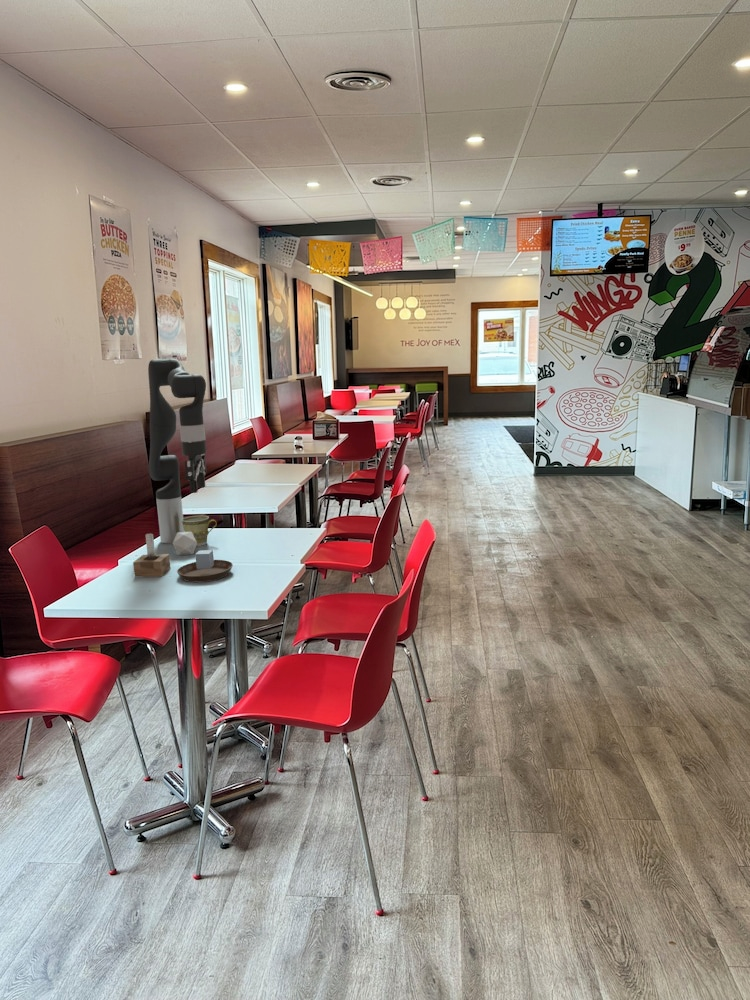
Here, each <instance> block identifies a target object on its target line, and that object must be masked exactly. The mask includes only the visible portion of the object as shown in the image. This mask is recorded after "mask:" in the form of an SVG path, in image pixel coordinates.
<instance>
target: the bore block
mask: <svg viewBox="0 0 750 1000" xmlns="http://www.w3.org/2000/svg"><path fill="white" fill-rule="evenodd" d="M155 558H156V560H148V555H147V554H142V555H141V556H139V557H138V558H137V559H136V560H134V561H133V562H132V564H133V565H132V568H133V574H134V578H150V577H151V578H153V577H163V576H164V575H166V573H168V571H170V569H171V568H172V567H171V560H170V554H169V553H161V554H159V553H155Z"/></svg>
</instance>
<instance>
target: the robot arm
mask: <svg viewBox="0 0 750 1000" xmlns="http://www.w3.org/2000/svg"><path fill="white" fill-rule="evenodd" d="M147 367H148V368H147V369H148V371H147V372H148V373H147V374H148V375H147V376H148V386H149V398H150V399H149V401H150V402H149V439H150V441H149V443H150V444H149V445H150V447H149V456H148V457H149V458H148V471H149V477H150V479H152V480H153V481H154V482H155V481H168V480H169V482H168V483H167V484H166V485H165V486H163V487H161V488H158V489H157V490H156V491H155V499H156V507H157V508H156V509H157V517H158V526H159V527H158V528H159V537H160V543H161V544H173V541H174V539H175V536H176V534H177V533H179V532H185V531H184V528H183V524H182V519H183V518H184V512H183V510H184V509H183V502H182V501H183V500H182V493H181V492H182V491H181V489H182V488H181V481H180V480H181V479H180V478H181V477H180V463H179V459H178V456H177V455H176V454H167V455H166V454H165V455H162V454H163V453H162V452H163V450H164V449H165V448H166V446H167V445H168V444H169V442H170V441H171V440H172V438H174V436H175V433H176V432H177V431H176V430H177V414H176V412H175V410H174V408H173V407H172V406H171V404H170V403H169V402H168V401H167V400H166V398H165V397H164V396H163V394H162V392H161V390H160V388H161V387H165V386H166V387H168V386H169V388H170V391H171V393H172V396H173V397H174V398H177V399H189V398H190V399H191V398H193V401H192V402H191V403H190V404H186V405H183V406H181V407H180V408H179V410H178V413H179V424H180V444H181V454H182V456H187V457H188V460H184V469H185V470H184V471H185V480H186V481H188V482H189V492H190V493H191V494H196V493H198V492H199V490H198V489H199V488H201V489H202V488H203V489H204V488H206V479H205V478H206V477H205V476H206V473H207V472H208V471H207V463H206V455H205V454H207V452H208V451H207V450H208V449H207V439H206V429H205V426H204V425H205V423H204V415H203V408H204V407H203V406H204V399H205V395H206V390H207V389H206V388H207V382H206V379H205V378H204V376H202V375H201V374H199V373H198V374H197V373H195V374H190V373H189V372H187V371H186V370H185V368H184V366H183V364H182V362H180V360H179V359H177V358H154V359H151V360H149V363H148V366H147Z"/></svg>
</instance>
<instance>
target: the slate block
mask: <svg viewBox="0 0 750 1000" xmlns="http://www.w3.org/2000/svg"><path fill="white" fill-rule="evenodd" d="M194 556H195V562H196V567H197V569H211V568H212V567H213V566H214V560H215V558H214V550H213V549H206V550H205V549H204V550H203V549H201V550H198V551H197V552H195V555H194Z"/></svg>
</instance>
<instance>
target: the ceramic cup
mask: <svg viewBox="0 0 750 1000" xmlns="http://www.w3.org/2000/svg"><path fill="white" fill-rule="evenodd" d="M212 522H215V525H213V527H212V528H211V529H209V524H211V523H212ZM182 524H183V528H184V531H185V532H192V534H193V536H194V538H195V540H196V542H197V545H196V547H200V546H201V545H202V546H205V545H207V543H208V535H209V533H210V532H212V530H213V529H214V528H216V527H217V526H218V522H217V520H216V519H210V516H208V515H192V516H191V515H190V516H186V517H183V519H182Z"/></svg>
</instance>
